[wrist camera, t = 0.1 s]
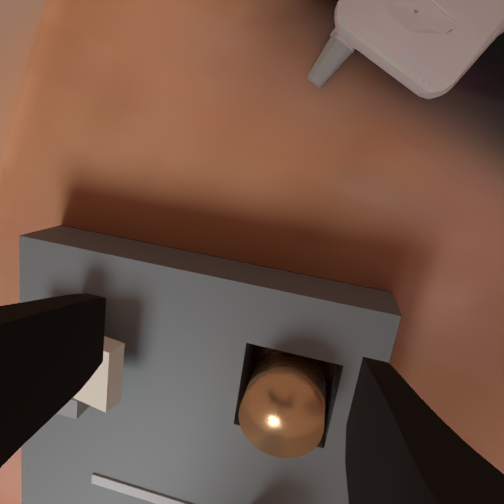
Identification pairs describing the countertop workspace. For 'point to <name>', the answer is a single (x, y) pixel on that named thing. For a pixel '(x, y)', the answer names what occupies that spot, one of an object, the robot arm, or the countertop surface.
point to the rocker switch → (105, 378)
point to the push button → (284, 405)
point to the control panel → (194, 374)
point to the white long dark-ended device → (412, 39)
